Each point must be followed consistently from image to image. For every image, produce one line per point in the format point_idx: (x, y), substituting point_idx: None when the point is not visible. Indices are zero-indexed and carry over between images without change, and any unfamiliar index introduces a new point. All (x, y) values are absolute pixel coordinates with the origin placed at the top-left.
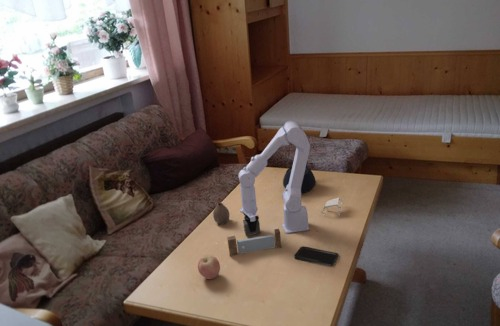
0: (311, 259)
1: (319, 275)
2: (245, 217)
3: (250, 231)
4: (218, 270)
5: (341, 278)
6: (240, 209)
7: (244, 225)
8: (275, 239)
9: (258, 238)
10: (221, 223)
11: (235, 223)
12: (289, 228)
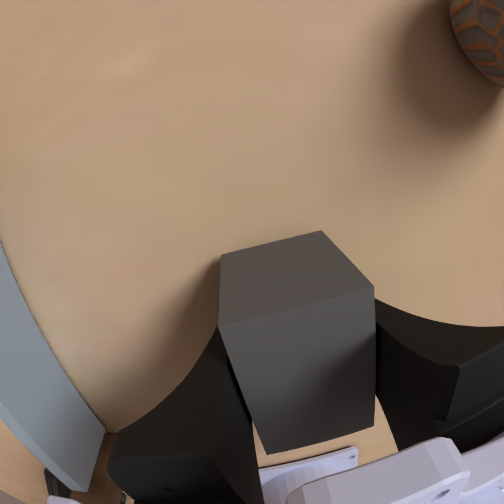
0: (56, 494)
1: (8, 478)
2: (179, 469)
3: (216, 328)
4: None
5: (24, 500)
6: (444, 484)
7: (234, 310)
8: (101, 468)
9: (5, 422)
10: (450, 16)
11: (461, 137)
12: (268, 492)
